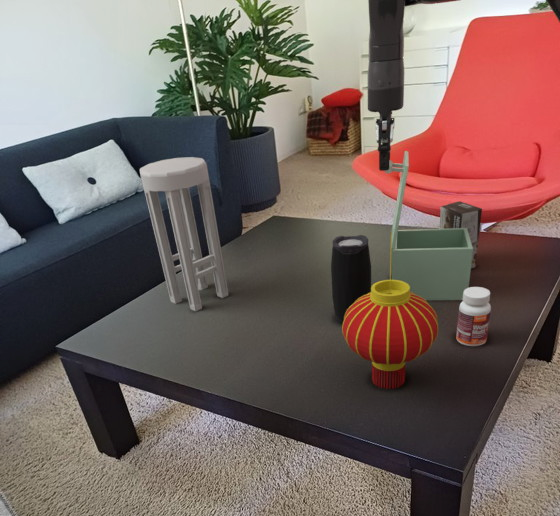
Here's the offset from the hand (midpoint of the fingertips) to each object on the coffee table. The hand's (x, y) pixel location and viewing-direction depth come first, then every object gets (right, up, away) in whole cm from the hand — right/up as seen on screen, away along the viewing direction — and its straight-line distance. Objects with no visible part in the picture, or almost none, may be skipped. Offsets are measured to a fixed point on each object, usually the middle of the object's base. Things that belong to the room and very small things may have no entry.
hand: (384, 165), depth 119 cm
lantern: (-2, -49, -16) cm, 52 cm away
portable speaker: (-7, -35, +6) cm, 36 cm away
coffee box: (+25, -18, +25) cm, 40 cm away
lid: (+5, -7, +4) cm, 9 cm away
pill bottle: (+17, -40, -7) cm, 44 cm away
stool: (-46, -27, +24) cm, 58 cm away
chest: (+14, -26, +15) cm, 33 cm away
